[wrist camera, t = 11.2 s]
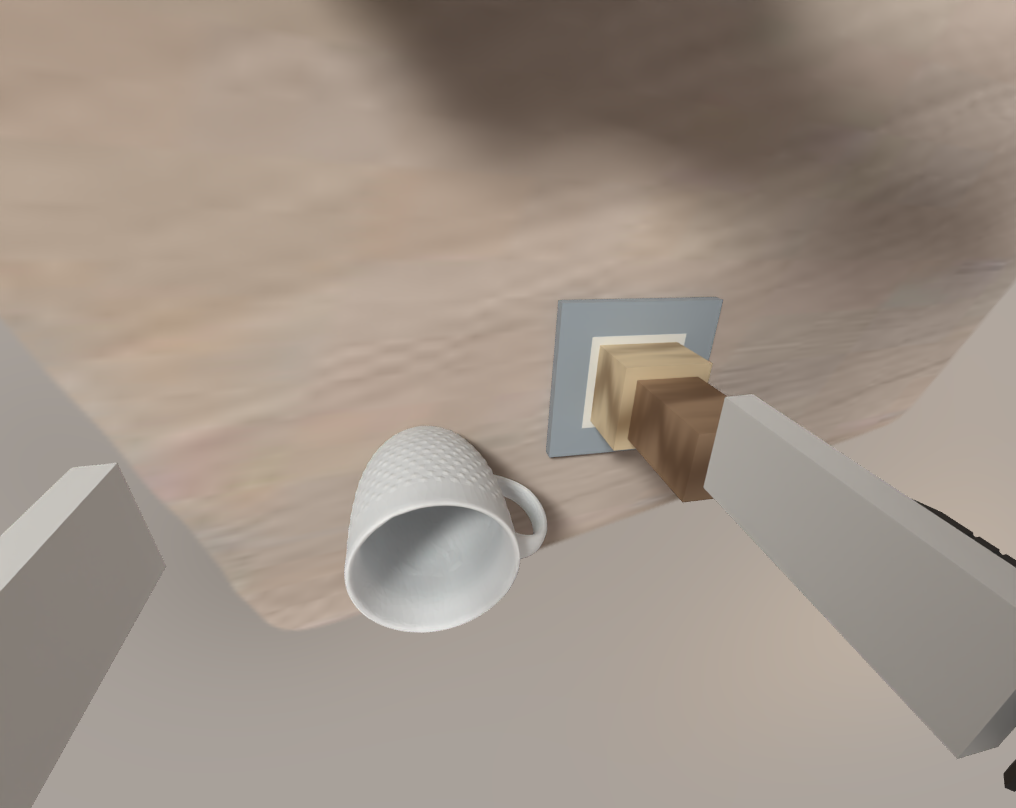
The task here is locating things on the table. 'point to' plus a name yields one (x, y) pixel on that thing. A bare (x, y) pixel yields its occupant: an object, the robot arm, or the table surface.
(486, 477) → the mug
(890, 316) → the table surface
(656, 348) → the oak block
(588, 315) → the blueprint board
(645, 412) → the walnut block
